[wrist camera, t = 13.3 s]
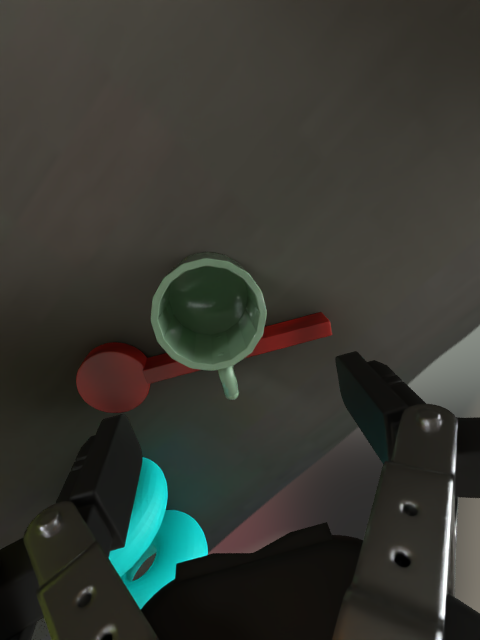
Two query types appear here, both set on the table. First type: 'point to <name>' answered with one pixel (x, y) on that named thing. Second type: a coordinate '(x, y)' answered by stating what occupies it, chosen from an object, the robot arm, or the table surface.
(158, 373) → the spoon
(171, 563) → the donuts
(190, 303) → the mug
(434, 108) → the table surface
